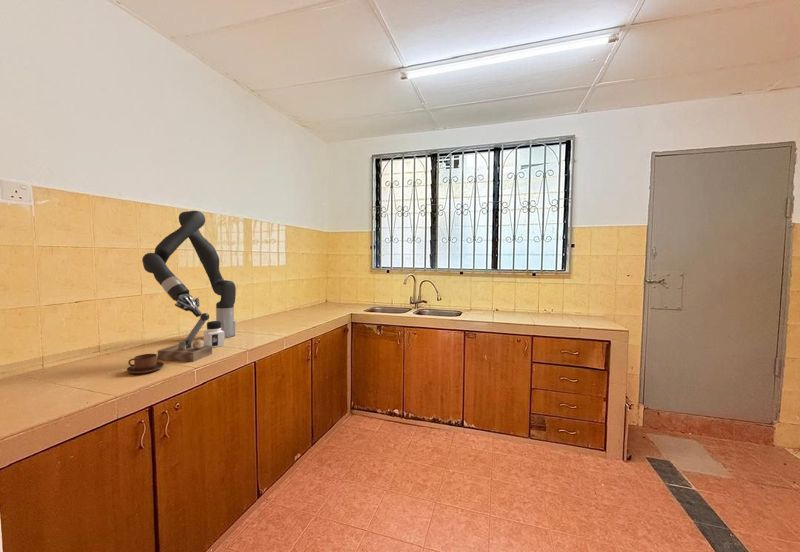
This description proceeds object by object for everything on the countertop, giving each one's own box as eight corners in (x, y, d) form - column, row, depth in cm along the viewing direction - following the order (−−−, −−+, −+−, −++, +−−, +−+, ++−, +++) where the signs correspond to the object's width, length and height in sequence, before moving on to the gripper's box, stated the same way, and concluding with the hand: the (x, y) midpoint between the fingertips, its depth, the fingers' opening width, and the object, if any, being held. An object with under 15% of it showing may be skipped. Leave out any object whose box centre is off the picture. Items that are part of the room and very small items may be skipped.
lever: (178, 345, 152) (201, 312, 150) (184, 343, 156) (206, 310, 153) (184, 350, 152) (207, 317, 150) (189, 348, 156) (212, 315, 153)
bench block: (157, 359, 149) (157, 340, 149) (178, 351, 161) (178, 334, 161) (193, 361, 147) (193, 343, 147) (212, 353, 159) (212, 336, 158)
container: (224, 345, 174) (224, 321, 173) (208, 348, 168) (208, 323, 167) (219, 342, 179) (219, 319, 178) (203, 345, 173) (203, 321, 173)
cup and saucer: (124, 378, 126) (124, 362, 126) (129, 368, 137) (129, 354, 136) (162, 373, 133) (162, 358, 132) (165, 364, 143) (164, 350, 143)
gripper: (168, 284, 146) (194, 312, 145) (191, 282, 159) (214, 308, 158) (158, 295, 147) (183, 323, 146) (181, 292, 160) (204, 318, 159)
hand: (199, 315), depth 152 cm, fingers closed
